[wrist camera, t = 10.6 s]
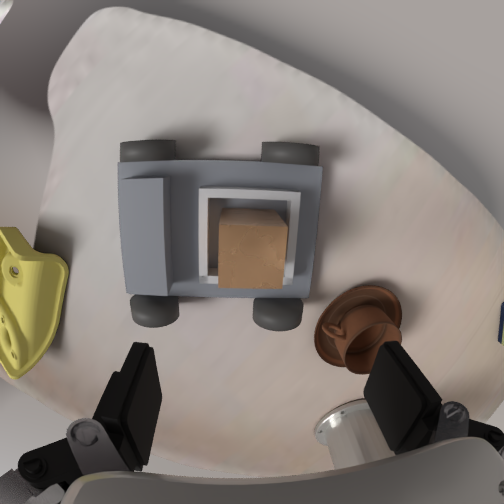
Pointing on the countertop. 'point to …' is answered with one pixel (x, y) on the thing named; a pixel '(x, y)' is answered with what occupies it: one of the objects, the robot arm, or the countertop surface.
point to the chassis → (212, 226)
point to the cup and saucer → (358, 327)
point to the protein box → (501, 326)
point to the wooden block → (251, 249)
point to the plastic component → (27, 301)
